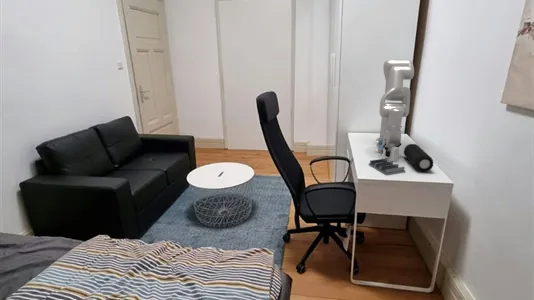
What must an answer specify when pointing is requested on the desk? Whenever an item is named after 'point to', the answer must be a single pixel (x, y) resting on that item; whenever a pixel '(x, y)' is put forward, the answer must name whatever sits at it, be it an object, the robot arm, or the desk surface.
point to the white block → (392, 153)
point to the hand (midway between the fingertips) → (390, 155)
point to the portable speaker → (418, 157)
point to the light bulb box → (380, 145)
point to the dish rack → (386, 166)
